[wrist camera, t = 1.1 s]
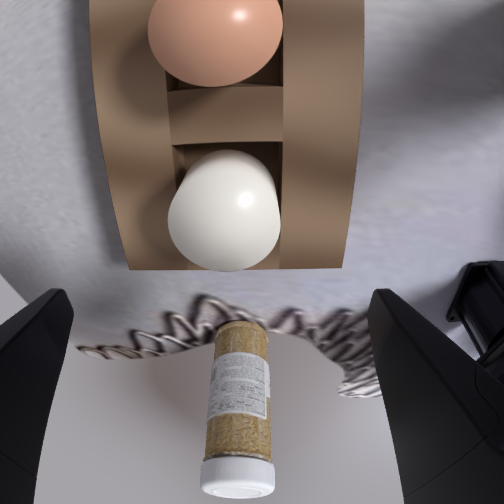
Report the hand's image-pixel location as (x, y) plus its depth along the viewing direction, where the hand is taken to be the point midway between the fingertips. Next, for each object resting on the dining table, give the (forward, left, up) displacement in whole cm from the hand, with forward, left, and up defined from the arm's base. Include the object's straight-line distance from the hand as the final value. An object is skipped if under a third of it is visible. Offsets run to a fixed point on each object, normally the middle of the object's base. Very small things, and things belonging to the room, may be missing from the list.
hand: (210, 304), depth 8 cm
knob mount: (+7, 0, -12) cm, 14 cm away
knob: (0, 0, -8) cm, 8 cm away
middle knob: (+7, 0, -8) cm, 11 cm away
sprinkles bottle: (-15, 0, -12) cm, 19 cm away
